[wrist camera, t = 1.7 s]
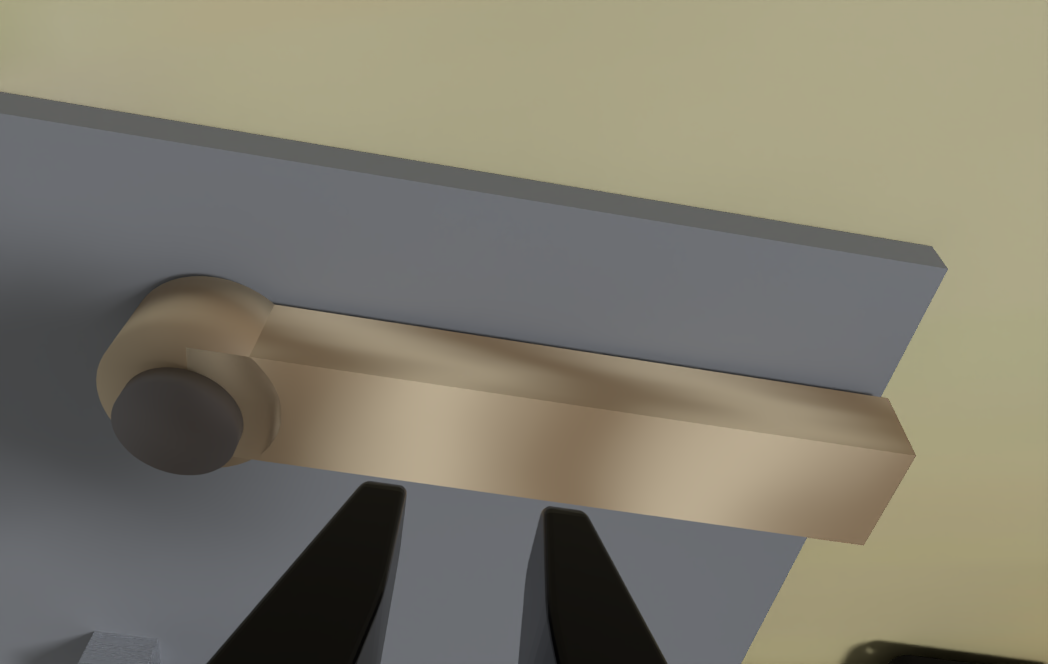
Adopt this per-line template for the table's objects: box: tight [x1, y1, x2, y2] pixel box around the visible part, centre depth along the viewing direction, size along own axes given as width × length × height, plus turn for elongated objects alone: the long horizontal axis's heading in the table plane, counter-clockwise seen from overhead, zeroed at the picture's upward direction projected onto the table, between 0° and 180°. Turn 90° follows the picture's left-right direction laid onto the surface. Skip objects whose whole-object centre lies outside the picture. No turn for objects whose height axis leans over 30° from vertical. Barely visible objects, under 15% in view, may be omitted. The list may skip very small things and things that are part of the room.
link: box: [96, 276, 916, 545], centre depth 20 cm, size 18×4×3 cm, turn 81°
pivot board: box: [0, 92, 948, 664], centre depth 26 cm, size 25×26×1 cm
